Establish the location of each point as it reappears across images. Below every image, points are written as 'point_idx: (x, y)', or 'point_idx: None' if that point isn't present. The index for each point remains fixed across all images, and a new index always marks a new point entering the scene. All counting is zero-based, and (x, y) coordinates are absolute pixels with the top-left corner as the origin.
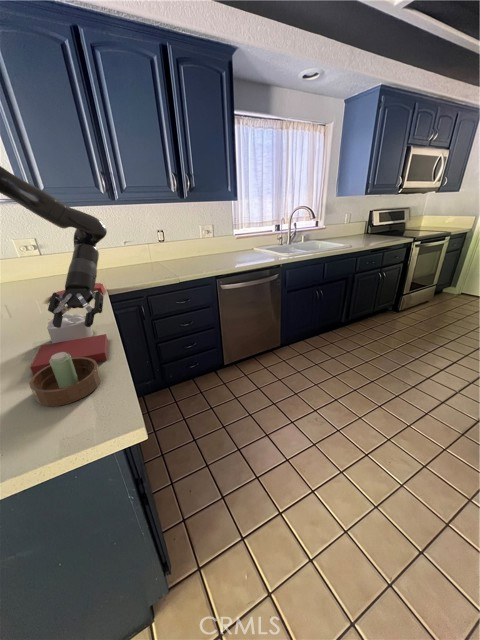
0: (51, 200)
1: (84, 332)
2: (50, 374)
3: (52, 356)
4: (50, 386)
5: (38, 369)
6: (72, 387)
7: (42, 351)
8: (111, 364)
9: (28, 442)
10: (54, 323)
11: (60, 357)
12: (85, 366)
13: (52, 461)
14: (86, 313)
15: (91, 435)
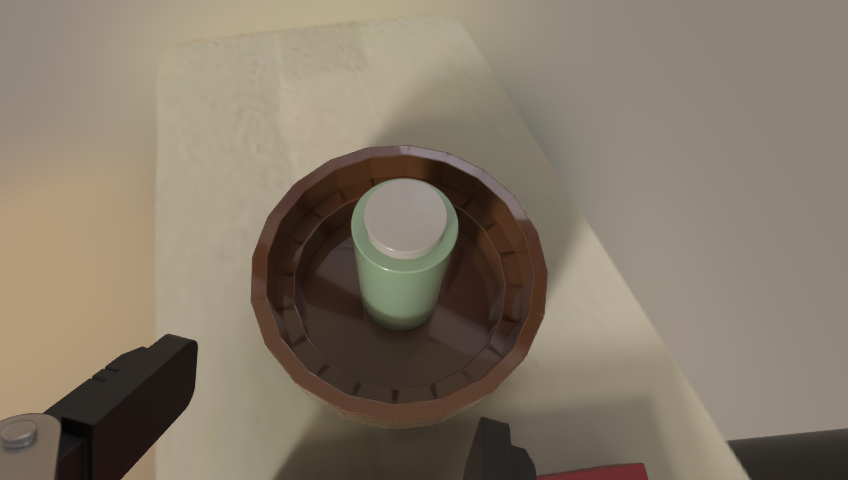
0: None
1: None
2: (498, 352)
3: (441, 215)
4: (484, 316)
5: (600, 467)
6: (346, 156)
7: None
8: (220, 454)
9: (448, 83)
10: (502, 431)
11: (391, 189)
12: (336, 378)
13: (369, 19)
14: (96, 415)
15: (288, 57)
